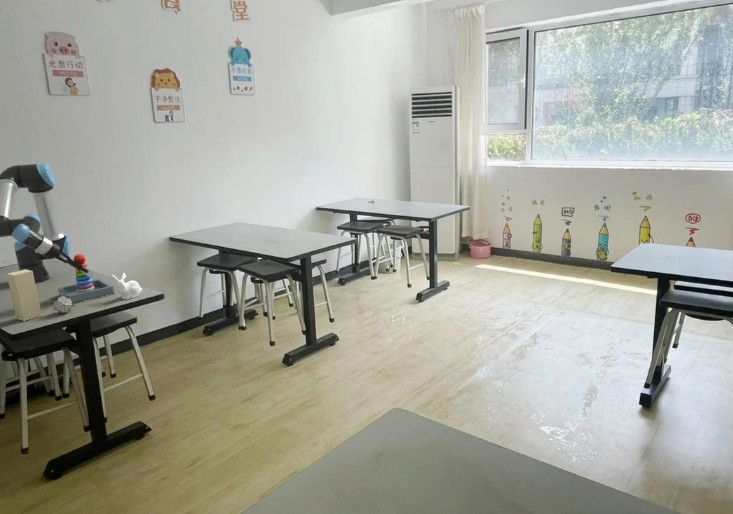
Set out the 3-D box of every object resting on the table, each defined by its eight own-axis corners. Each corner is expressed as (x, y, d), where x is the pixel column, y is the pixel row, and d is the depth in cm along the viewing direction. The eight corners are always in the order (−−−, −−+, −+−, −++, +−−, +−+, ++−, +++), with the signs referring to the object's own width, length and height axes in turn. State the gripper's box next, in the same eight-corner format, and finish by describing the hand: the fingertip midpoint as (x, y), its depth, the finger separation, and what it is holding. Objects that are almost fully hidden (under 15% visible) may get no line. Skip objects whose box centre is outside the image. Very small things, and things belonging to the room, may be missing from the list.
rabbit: (124, 301, 257) (119, 277, 254) (112, 298, 262) (108, 274, 259) (146, 294, 267) (142, 270, 264) (134, 291, 272) (131, 268, 269)
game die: (63, 320, 247) (58, 300, 250) (80, 312, 247) (75, 292, 250) (50, 317, 239) (45, 296, 242) (67, 309, 239) (62, 288, 242)
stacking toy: (97, 288, 273) (91, 252, 268) (88, 293, 265) (82, 256, 261) (83, 288, 274) (76, 252, 269) (73, 293, 266) (66, 256, 261)
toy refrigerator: (34, 313, 247) (24, 268, 241) (42, 316, 243) (32, 270, 237) (15, 319, 240) (5, 273, 235) (23, 322, 236) (13, 275, 231)
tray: (59, 295, 271) (57, 288, 270) (101, 286, 284) (100, 278, 283) (70, 304, 257) (68, 296, 256) (114, 294, 269) (113, 286, 268)
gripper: (37, 252, 261) (80, 277, 276) (47, 258, 248) (92, 284, 262) (47, 239, 263) (90, 264, 278) (58, 244, 250) (101, 271, 264)
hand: (90, 274), depth 270 cm, fingers closed on stacking toy, 6 cm apart
